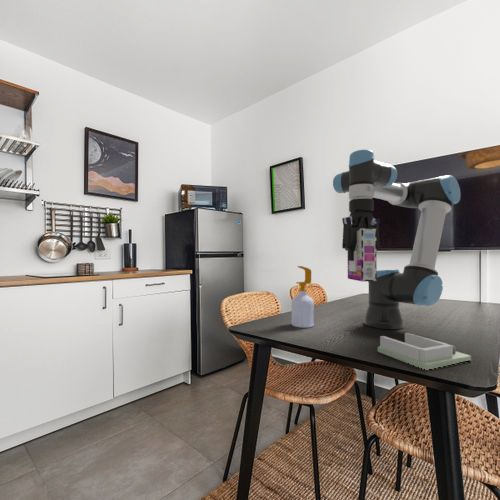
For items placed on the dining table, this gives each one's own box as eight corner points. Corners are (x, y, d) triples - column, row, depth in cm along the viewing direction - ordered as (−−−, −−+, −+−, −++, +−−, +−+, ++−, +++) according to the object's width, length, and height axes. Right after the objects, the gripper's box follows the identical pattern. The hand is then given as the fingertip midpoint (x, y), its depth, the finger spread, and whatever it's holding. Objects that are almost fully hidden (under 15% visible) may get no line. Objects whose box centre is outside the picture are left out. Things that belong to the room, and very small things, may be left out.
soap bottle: (287, 324, 127) (287, 265, 127) (305, 322, 131) (305, 265, 131) (299, 329, 119) (299, 266, 119) (318, 326, 122) (318, 266, 123)
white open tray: (419, 345, 99) (419, 331, 99) (471, 361, 84) (471, 345, 84) (377, 351, 92) (377, 336, 92) (426, 370, 77) (426, 352, 77)
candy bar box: (378, 281, 92) (377, 227, 92) (362, 282, 92) (361, 227, 92) (361, 278, 103) (360, 230, 103) (346, 278, 103) (346, 230, 103)
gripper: (345, 195, 90) (345, 272, 90) (392, 199, 98) (392, 271, 98) (329, 199, 97) (329, 271, 97) (374, 203, 105) (374, 269, 105)
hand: (361, 270), depth 97 cm, fingers closed on candy bar box, 6 cm apart
